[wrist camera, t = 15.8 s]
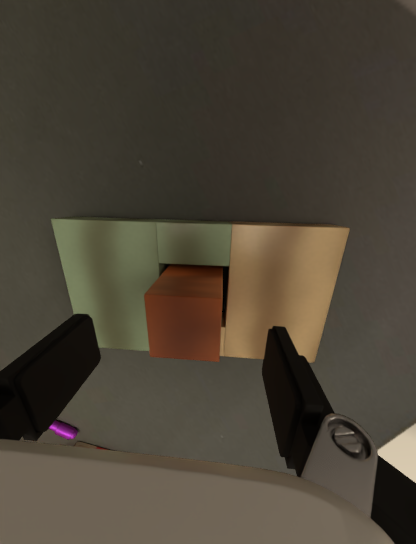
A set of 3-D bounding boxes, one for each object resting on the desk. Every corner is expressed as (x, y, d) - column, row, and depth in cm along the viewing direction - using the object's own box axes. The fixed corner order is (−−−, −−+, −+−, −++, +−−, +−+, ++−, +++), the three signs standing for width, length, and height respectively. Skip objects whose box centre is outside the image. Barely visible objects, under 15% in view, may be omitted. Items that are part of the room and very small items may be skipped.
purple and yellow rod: (80, 429, 27) (-33, 377, 25) (73, 439, 26) (-45, 386, 24) (77, 433, 28) (-30, 385, 27) (71, 444, 27) (-40, 394, 26)
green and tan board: (331, 224, 16) (350, 227, 13) (303, 344, 20) (314, 362, 17) (74, 216, 17) (50, 218, 15) (97, 330, 21) (81, 346, 19)
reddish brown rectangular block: (222, 262, 18) (222, 298, 11) (220, 307, 19) (219, 362, 12) (172, 260, 18) (143, 294, 11) (174, 304, 19) (149, 357, 13)
